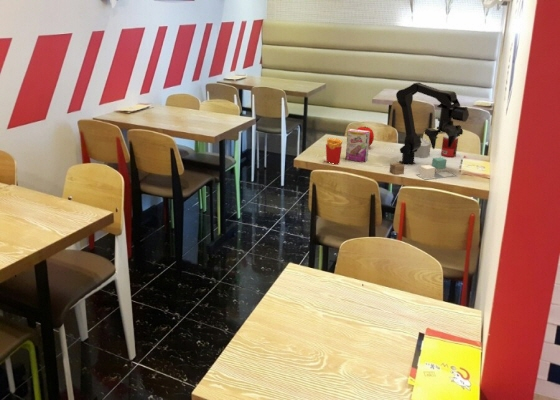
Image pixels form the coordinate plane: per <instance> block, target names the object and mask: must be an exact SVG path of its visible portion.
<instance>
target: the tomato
mask: <svg viewBox="0 0 560 400" xmlns="http://www.w3.org/2000/svg"><path fill="white" fill-rule="evenodd" d="M356 130H364V131H370V136H369V147H370V146H371V145H372V144H373V143H374V139H375V134H374V131H373V129H372V128H371V127H368V126H367V127H366V126H360V127H358V128H357V129H356Z"/></svg>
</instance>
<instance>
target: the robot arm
mask: <svg viewBox="0 0 560 400" xmlns="http://www.w3.org/2000/svg"><path fill="white" fill-rule="evenodd" d="M417 93H419V94H422V95H426V96H429V97H431V98H433V99H436V100H437V102H439V104H438V105H436V107H437V108H440V114H439V118H437V121H438V126H436V129H435V128H432V127H431V128H426V129H425V130H424V135H426V136H427V137H428V139H429V141H430V142H431V148H432V150H435V148H436V144H437V139H438V138H439V137H438V135H439V134H441V135H442V134H445V135H448V147H449V148H450V147H451V145H452V143H453V142H454V140H455V138H457V137H458V138H459V137H461V135H463V134H464V131H463V128H462V126H461V125H460V124H459V125H456V124H455V125H454V120H455V121H459V122H463V123H465V122H467V120H468V118H469V116H470V115H469V114H470V113H469V110H468V109H469V108H468V107H467V106H462V105H461V103H460V101H459V100H458V98H457V96H458V95H457V93H456V92H455V91H452V90H441V89H437V88H435V87H432V86H429V85H426V84H423V83H421V82H418V81H417V82H414V83H413V84H411V85H409V86H407V87H405V88H404V89H399V90H398V91H397V92H396V93H395V98H396V100H397V103H398V104H399V106H400V107H401V111H402V112H401V113H402V118H403V124H404V130H405V131H404V132H405V137H404V142H403V143H404V145H402V146H401V147H400V148H399V152H400V154H402V157H401V160H400V161H399V162H398V163H400V164H402V165H404V166H405V165H415V164H416V162H415V157H414V154H415V153H414V152H417V150H418V149H419V148H420V146H421V143H422V142H421V138H422V137H421V135H419V134H417V133H416V127H415V120H414V115H413V109H412V103H413V98H414V95H416V94H417Z"/></svg>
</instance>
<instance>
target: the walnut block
mask: <svg viewBox="0 0 560 400" xmlns="http://www.w3.org/2000/svg"><path fill="white" fill-rule="evenodd" d="M389 173H391V174H393V175H395V176H396V175H404V173H405V165H404V164H402V163H400V162H394V163H390V165H389Z"/></svg>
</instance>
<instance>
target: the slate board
mask: <svg viewBox="0 0 560 400" xmlns="http://www.w3.org/2000/svg"><path fill="white" fill-rule="evenodd" d="M415 176H416V177H419V178H420V179H422V180H424V181H430V180H437V179H445V178H446V179H447V178H454V177H457V175H456V174H454V173H452V172H451V171H448V170H442V171H441V170H440V171H435V174H434V178H427V179H425V178H423V177H422V176H420V173H417V174H415Z"/></svg>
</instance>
